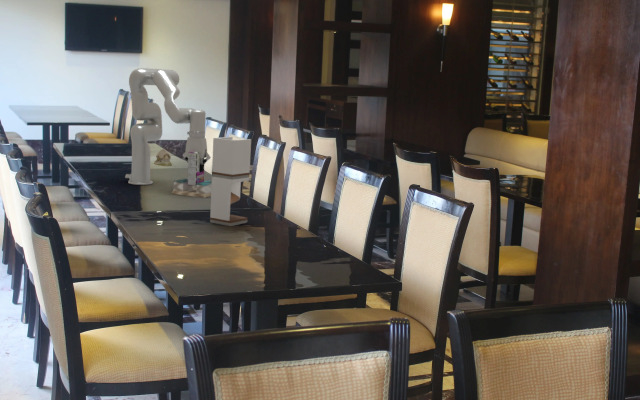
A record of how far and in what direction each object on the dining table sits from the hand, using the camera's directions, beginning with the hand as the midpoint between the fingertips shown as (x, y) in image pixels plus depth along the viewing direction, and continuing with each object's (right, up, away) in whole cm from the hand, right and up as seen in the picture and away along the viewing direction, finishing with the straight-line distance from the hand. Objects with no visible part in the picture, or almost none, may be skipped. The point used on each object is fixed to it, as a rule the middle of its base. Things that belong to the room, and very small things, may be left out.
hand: (195, 171), depth 397 cm
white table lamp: (+24, -24, -64) cm, 72 cm away
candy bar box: (0, -7, +1) cm, 7 cm away
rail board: (-1, -11, +2) cm, 12 cm away
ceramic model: (-37, +8, +106) cm, 113 cm away
